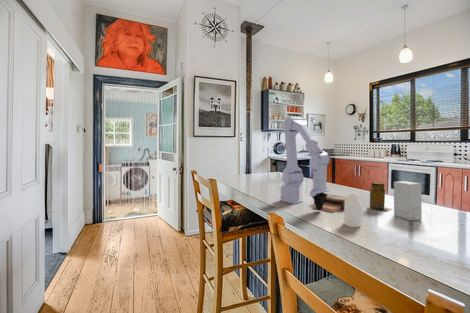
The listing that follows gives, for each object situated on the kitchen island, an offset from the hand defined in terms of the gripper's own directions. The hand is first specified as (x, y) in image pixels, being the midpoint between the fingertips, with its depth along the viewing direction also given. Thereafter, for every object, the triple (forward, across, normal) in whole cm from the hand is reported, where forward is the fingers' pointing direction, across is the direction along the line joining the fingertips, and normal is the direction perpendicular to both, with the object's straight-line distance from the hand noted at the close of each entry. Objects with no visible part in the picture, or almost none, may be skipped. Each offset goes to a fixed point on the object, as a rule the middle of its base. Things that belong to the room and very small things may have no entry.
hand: (319, 209), depth 110 cm
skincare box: (+1, +17, -30) cm, 35 cm away
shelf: (+1, +14, 0) cm, 14 cm away
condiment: (+1, +24, -18) cm, 30 cm away
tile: (+2, +10, 0) cm, 10 cm away
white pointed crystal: (+1, -8, -17) cm, 19 cm away
